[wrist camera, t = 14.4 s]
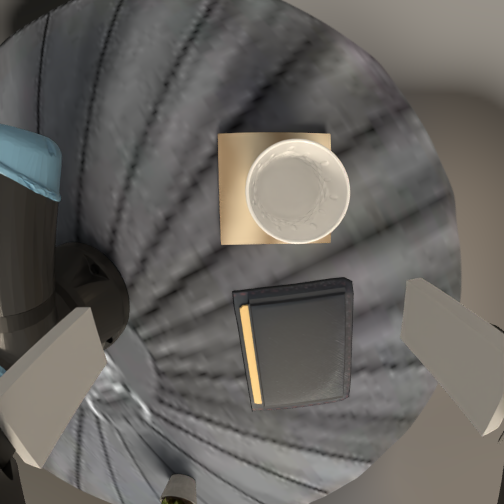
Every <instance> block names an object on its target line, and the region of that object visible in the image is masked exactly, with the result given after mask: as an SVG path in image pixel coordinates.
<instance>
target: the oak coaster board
mask: <svg viewBox="0 0 504 504" xmlns="http://www.w3.org/2000/svg"><path fill="white" fill-rule="evenodd" d="M287 139H307V140H311V141H314V142H317V143H319V144H321V145H323V146H325V147H326V148H328V149H329V150H330V151H331V140H330V134H322V133H290V132H256V133H224V134H218V163H219V200H220V229H221V245H232V244H287V243H286V242H283V241H280V240H277V239H275V238H273V237H272V236H270V235H268V234H267V233H266V232H264V231H263V230H262V229H261V228H260V227H259V226H258V225H257V223H256V222H255V220H254V219H253V217H252V215H251V214H250V211H249V209H248V206H247V202H246V195H245V187H246V180H247V176H248V173H249V170H250V168H251V166H252V164H253V163H254V161H255V160H256V158H257V157H258V156H259V155H260V154H261V153H262V152H263V151H264V150H265V149H267V148H268V147H270V146H271V145H273V144H275V143H277V142H280V141H283V140H287ZM330 239H331V233H329V234H328V235H326V236H325V237H323V238H321V239H319V240H316V241H314V242H310V243H330Z"/></svg>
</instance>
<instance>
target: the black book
mask: <svg viewBox="0 0 504 504" xmlns="http://www.w3.org/2000/svg"><path fill="white" fill-rule="evenodd" d="M232 294H233V304H234V310H235V315H236V320H237V325H238V331H239V337H240V344H241V350H242V356H243V361H244V367H245V373H246V379H247V385H248V390H249V396H250V402H251V408H252V411H261V410H279V409H289V408H298V407H305V406H313V405H320V404H326V403H332V402H337V401H342V400H344V399H346V398H348V397H349V392H350V381H351V355H352V327H353V295H354V293H353V285H352V281H350V280H348V279H346V278H333V279H325V280H319V281H312V282H305V283H298V284H291V285H282V286H273V287H264V288H256V289H248V290H240V291H232Z"/></svg>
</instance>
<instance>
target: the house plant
mask: <svg viewBox="0 0 504 504" xmlns="http://www.w3.org/2000/svg"><path fill="white" fill-rule="evenodd" d="M160 501H161V502H162V503H161V504H197V499H196V482H195V480H194V479H193V478H191V477H189V476H186V475H182V474H174V475H172V476H171V477H170V479H169V481H168V483H167V485H166V487H165V489H164V491H163V493H162V495H161V497H160Z"/></svg>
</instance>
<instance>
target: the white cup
mask: <svg viewBox="0 0 504 504" xmlns="http://www.w3.org/2000/svg"><path fill="white" fill-rule="evenodd" d="M245 195H246V202H247V206H248V209H249V211H250V214H251V215H252V217H253V219H254V220H255V222H256V223H257V225H258V226H259V227H260V228H261V229H262V230H263V231H264V232H266V233H267V234H268V235H270V236H272V237H273V238H275V239H277V240H280V241H283V242H286V243H292V244H304V243H310V242H314V241H316V240H319V239H321V238H323V237H325V236H326V235H328V234H329V233H331V232H332V231H333V230H334V229H335V228H336V227H337V226H338V225H339V223H340V222H341V220H342V219H343V217H344V215H345V213H346V211H347V208H348V204H349V199H350V184H349V179H348V176H347V173H346V170H345V168H344V166H343V165H342V163H341V161H340V160H339V159H338V158H337V156H336V155H335V154H334V153H333V152H332V151H330V150H329V149H328V148H326V147H325V146H323V145H321V144H319V143H317V142H314V141H311V140H307V139H287V140H283V141H280V142H277V143H275V144H273V145H271V146H270V147H268V148H267V149H265V150H264V151H263V152H262V153H261V154H260V155H259V156H258V157H257V158H256V160H255V161H254V163H253V164H252V166H251V168H250V170H249V173H248V176H247V180H246V187H245Z"/></svg>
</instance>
